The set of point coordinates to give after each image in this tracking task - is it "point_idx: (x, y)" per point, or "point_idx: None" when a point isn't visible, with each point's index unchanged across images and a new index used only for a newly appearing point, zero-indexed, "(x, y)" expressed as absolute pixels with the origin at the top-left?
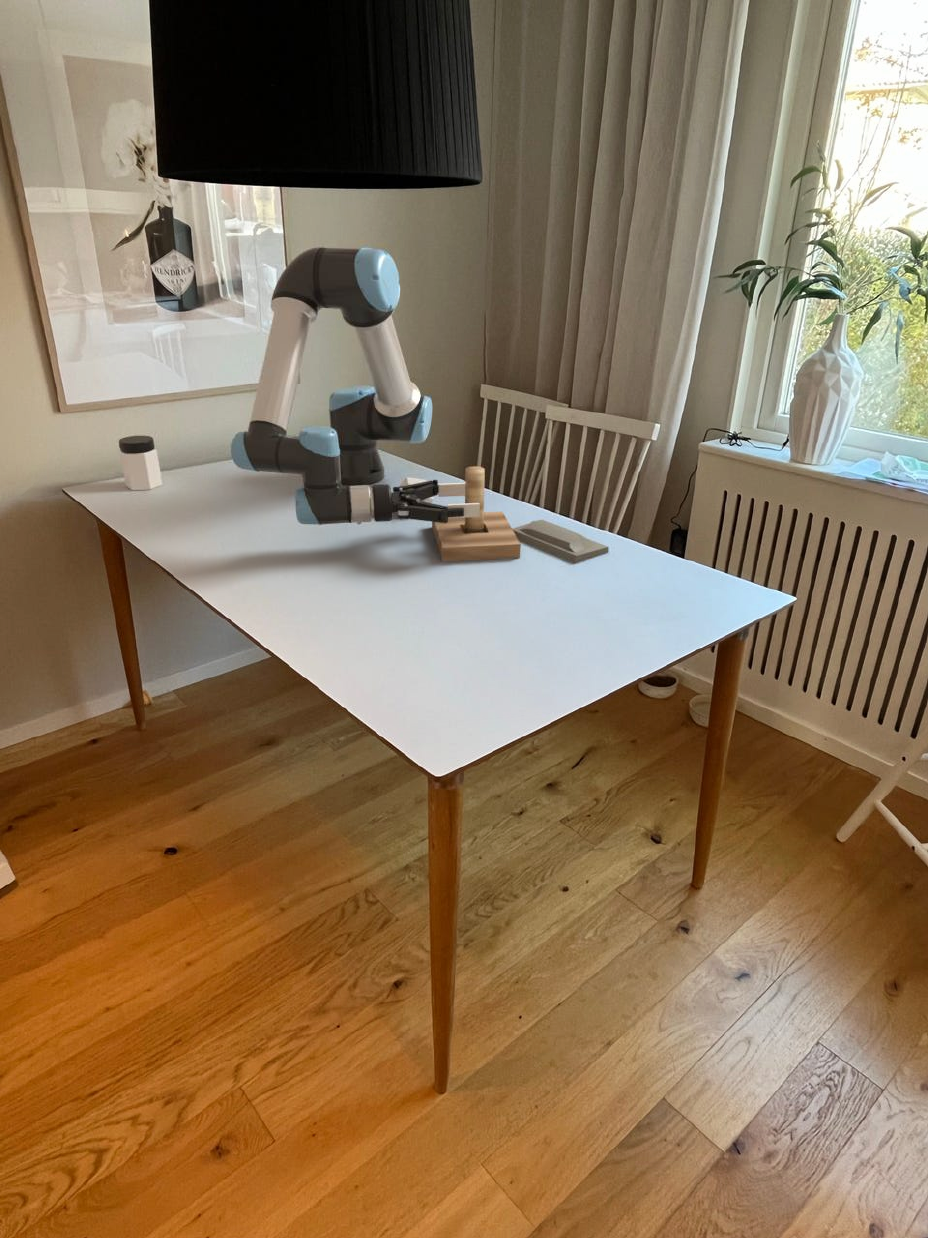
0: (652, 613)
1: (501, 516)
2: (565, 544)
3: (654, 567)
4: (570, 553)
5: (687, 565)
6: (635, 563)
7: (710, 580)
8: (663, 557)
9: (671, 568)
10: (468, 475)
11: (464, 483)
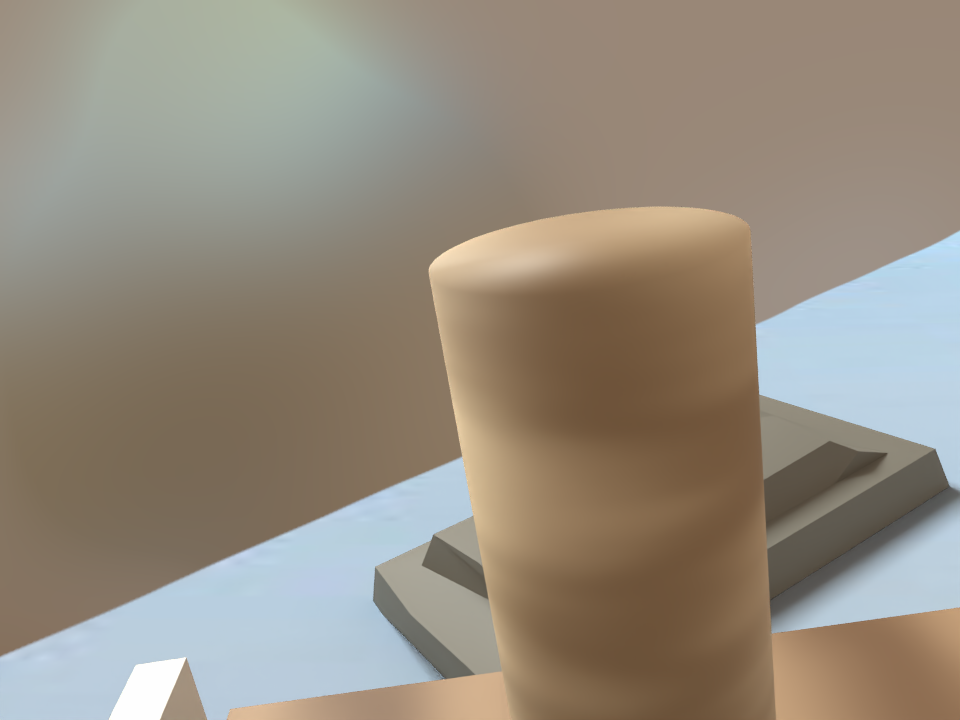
0: None
1: (344, 715)
2: (823, 464)
3: (876, 338)
4: (907, 465)
5: (824, 302)
6: (854, 366)
7: (936, 276)
8: (765, 330)
9: (867, 318)
10: (723, 335)
11: (150, 703)
